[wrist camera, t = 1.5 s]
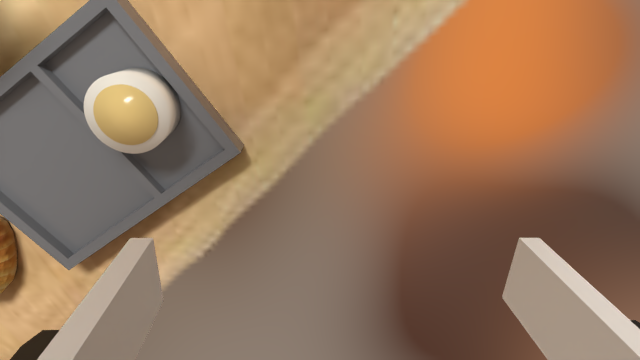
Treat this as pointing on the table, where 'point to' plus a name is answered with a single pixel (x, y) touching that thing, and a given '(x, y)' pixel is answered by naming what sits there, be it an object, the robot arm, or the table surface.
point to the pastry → (7, 254)
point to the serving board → (71, 153)
